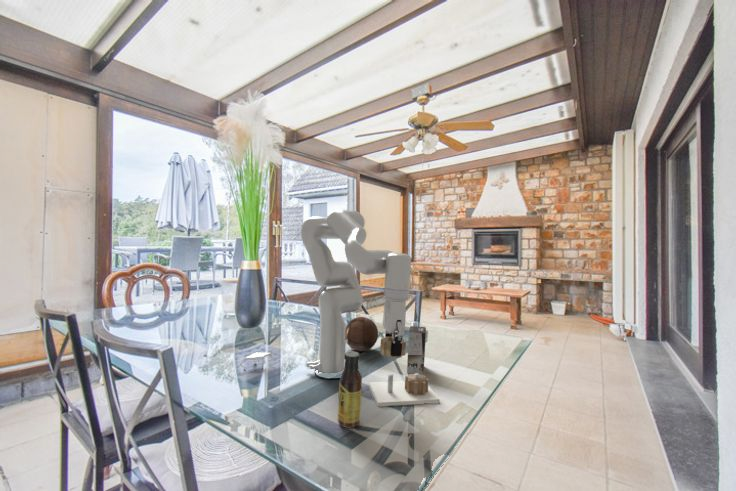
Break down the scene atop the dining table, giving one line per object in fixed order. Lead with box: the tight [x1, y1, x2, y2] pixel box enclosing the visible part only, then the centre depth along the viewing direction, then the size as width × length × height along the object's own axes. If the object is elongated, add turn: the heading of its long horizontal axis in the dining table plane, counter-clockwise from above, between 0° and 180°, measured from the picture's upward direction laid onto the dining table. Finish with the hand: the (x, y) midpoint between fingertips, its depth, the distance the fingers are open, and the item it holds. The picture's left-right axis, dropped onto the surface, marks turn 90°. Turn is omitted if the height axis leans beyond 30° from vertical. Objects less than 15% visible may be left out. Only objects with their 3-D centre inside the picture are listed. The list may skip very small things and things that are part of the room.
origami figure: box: [239, 351, 275, 369], centre depth 130 cm, size 12×8×5 cm
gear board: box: [368, 373, 440, 407], centre depth 114 cm, size 20×14×7 cm
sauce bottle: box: [337, 350, 363, 429], centre depth 95 cm, size 7×6×20 cm
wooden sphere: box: [345, 316, 379, 352], centre depth 153 cm, size 15×15×15 cm
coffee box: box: [406, 325, 427, 376], centre depth 134 cm, size 9×6×16 cm
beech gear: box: [379, 336, 407, 359], centre depth 105 cm, size 7×7×4 cm
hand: (392, 350), depth 105 cm, fingers closed on beech gear, 7 cm apart
